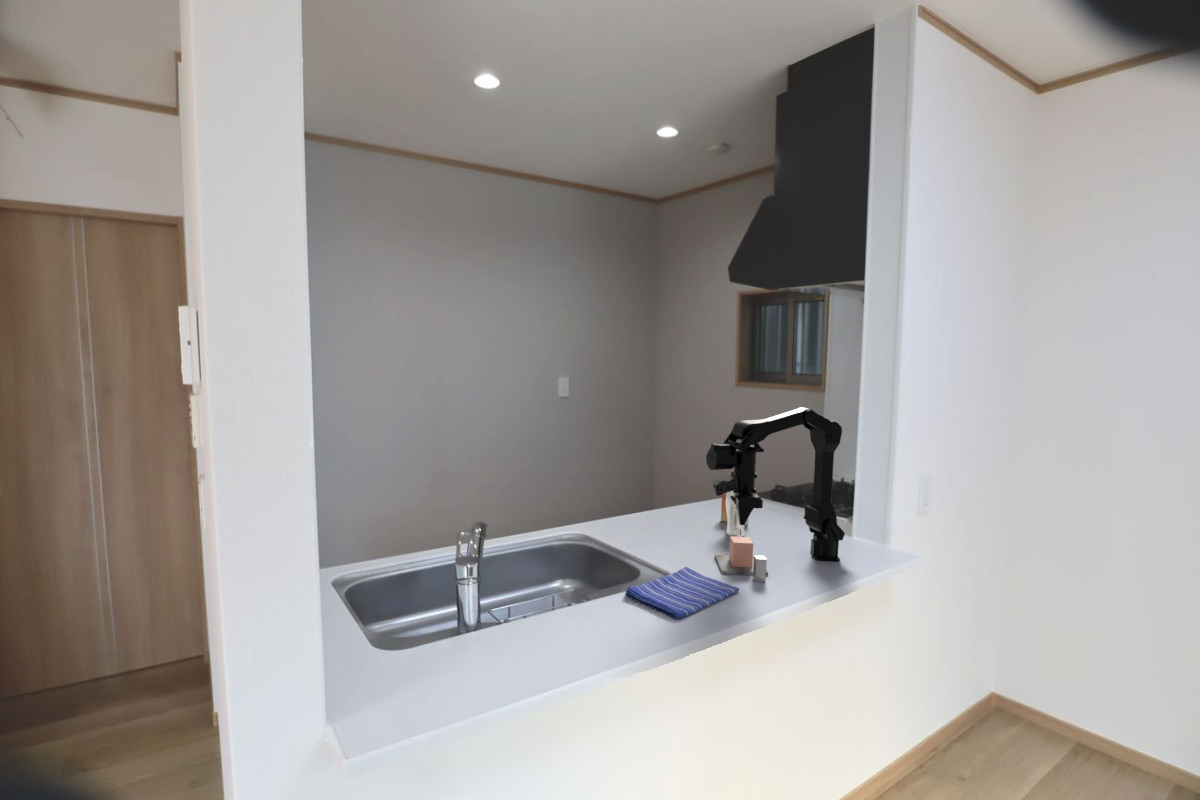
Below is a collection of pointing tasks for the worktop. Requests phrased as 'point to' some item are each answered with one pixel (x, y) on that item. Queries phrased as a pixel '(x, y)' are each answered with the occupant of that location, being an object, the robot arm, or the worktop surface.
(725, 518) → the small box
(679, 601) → the dish towel
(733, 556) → the salmon pink block
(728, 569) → the plate
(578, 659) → the worktop surface
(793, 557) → the worktop surface
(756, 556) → the post steel
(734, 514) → the beer glass
